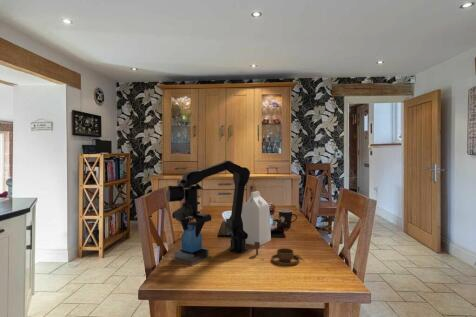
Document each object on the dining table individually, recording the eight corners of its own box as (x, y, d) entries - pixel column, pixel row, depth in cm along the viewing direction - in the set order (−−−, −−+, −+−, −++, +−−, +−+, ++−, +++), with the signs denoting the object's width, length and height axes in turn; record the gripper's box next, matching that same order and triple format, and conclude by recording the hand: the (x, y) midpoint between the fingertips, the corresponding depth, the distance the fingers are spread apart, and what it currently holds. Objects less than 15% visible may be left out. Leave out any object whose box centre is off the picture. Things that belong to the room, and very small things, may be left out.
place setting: (274, 270, 122) (273, 255, 122) (251, 255, 141) (251, 242, 141) (310, 263, 129) (310, 249, 129) (284, 250, 148) (284, 238, 147)
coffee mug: (275, 226, 195) (275, 210, 195) (287, 224, 199) (287, 209, 199) (286, 230, 185) (286, 213, 184) (298, 228, 188) (298, 212, 188)
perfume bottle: (191, 252, 130) (191, 224, 130) (181, 249, 134) (181, 222, 134) (201, 248, 135) (201, 221, 135) (192, 246, 139) (191, 219, 139)
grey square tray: (211, 257, 136) (211, 248, 136) (191, 265, 126) (191, 256, 126) (191, 252, 143) (191, 244, 143) (171, 260, 133) (171, 250, 133)
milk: (252, 237, 170) (252, 190, 169) (270, 240, 163) (270, 191, 163) (240, 242, 160) (239, 192, 159) (259, 245, 153) (259, 193, 153)
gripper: (162, 200, 133) (163, 236, 134) (193, 204, 122) (194, 243, 123) (181, 197, 142) (182, 231, 143) (211, 200, 131) (212, 237, 132)
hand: (191, 235), depth 135 cm, fingers closed on perfume bottle, 6 cm apart
